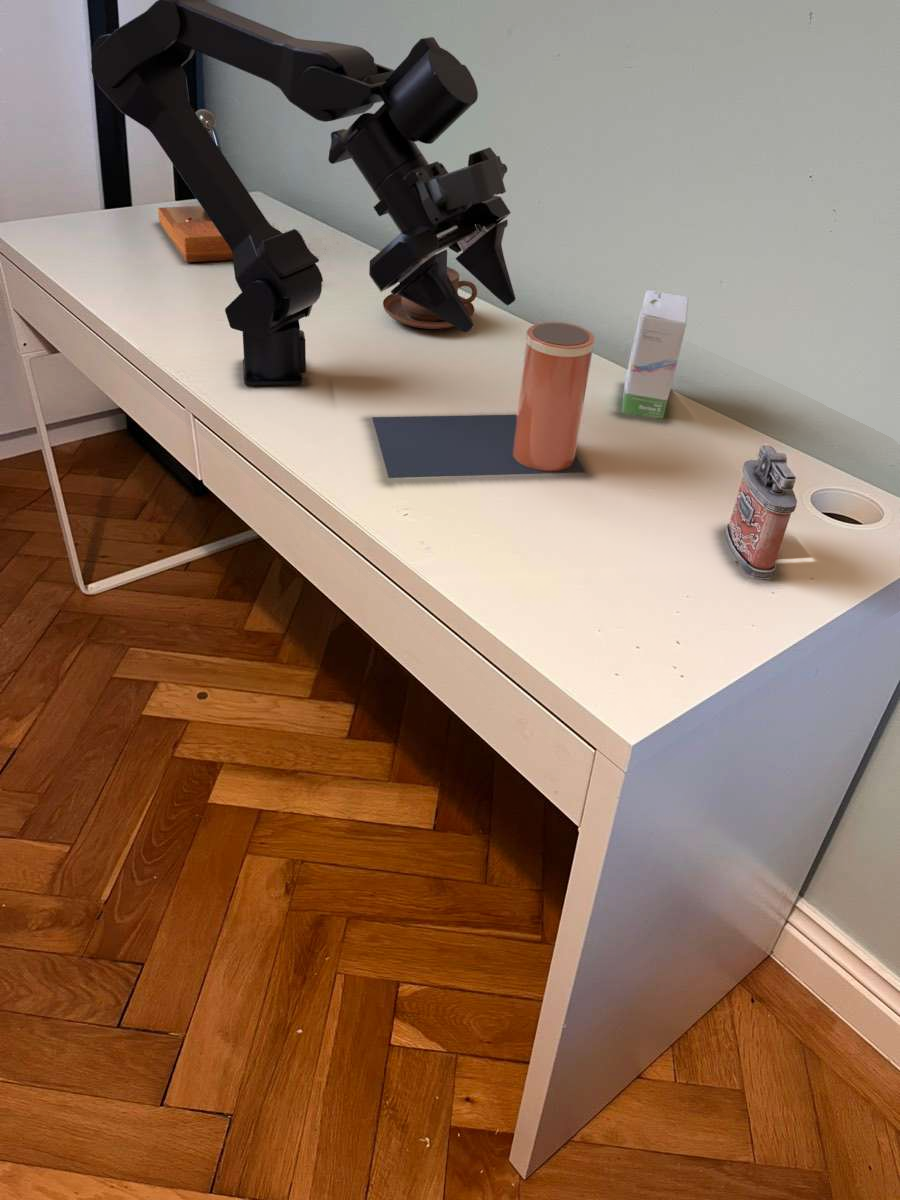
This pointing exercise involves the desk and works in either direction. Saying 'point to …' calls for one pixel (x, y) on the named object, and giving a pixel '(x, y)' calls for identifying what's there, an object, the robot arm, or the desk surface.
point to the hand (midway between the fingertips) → (491, 315)
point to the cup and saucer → (420, 316)
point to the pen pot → (552, 395)
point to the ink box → (654, 354)
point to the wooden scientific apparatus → (196, 221)
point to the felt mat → (452, 446)
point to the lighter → (761, 512)
